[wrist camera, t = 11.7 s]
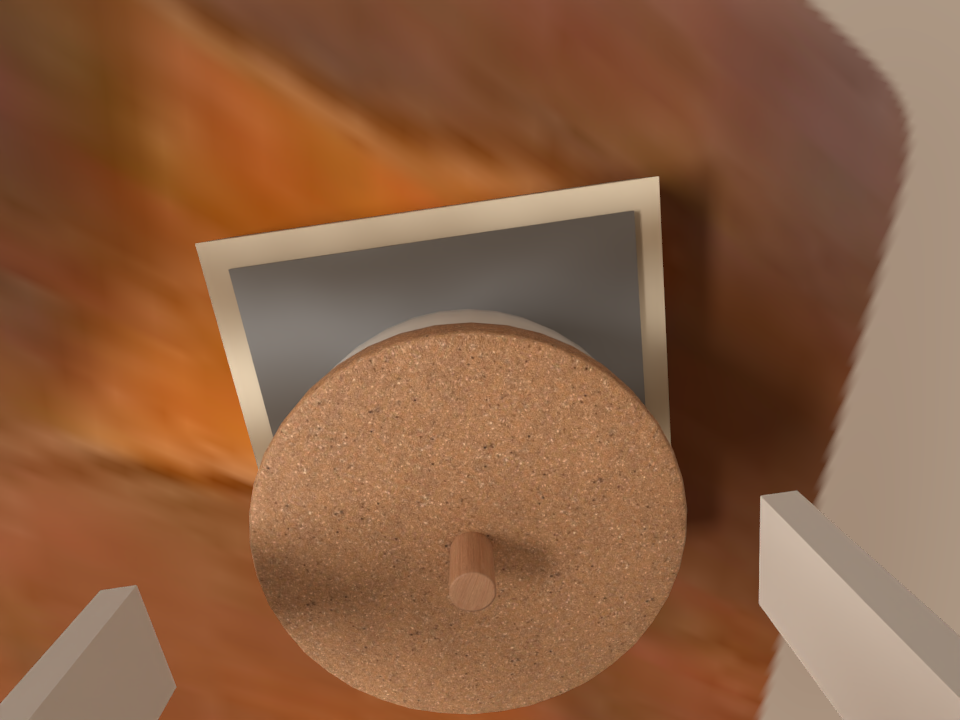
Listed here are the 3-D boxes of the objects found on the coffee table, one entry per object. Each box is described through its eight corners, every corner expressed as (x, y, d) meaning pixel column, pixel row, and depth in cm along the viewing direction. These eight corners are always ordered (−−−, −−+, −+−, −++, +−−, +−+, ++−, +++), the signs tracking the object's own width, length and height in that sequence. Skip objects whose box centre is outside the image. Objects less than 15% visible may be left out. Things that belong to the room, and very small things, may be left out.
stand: (229, 237, 22) (191, 244, 19) (632, 178, 22) (662, 176, 19) (319, 577, 26) (300, 629, 23) (653, 530, 26) (679, 576, 23)
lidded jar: (653, 332, 20) (809, 442, 11) (550, 573, 23) (609, 816, 14) (365, 238, 19) (280, 276, 10) (293, 505, 22) (175, 725, 13)
